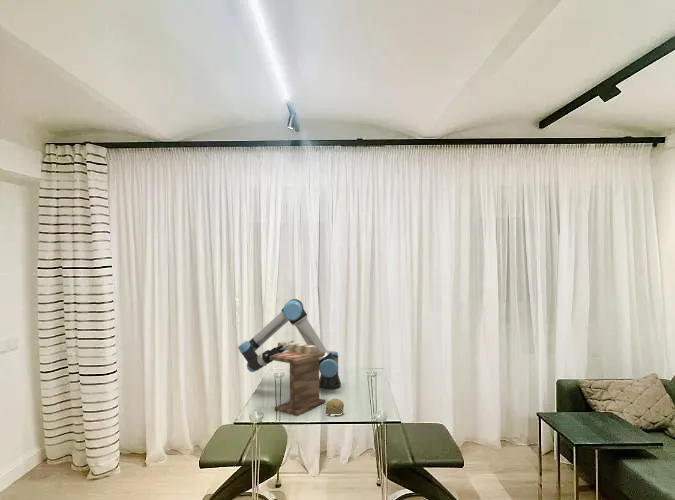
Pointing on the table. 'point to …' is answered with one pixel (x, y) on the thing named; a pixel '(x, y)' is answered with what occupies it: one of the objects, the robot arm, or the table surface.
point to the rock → (334, 406)
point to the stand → (301, 381)
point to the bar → (299, 348)
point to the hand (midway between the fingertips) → (290, 342)
